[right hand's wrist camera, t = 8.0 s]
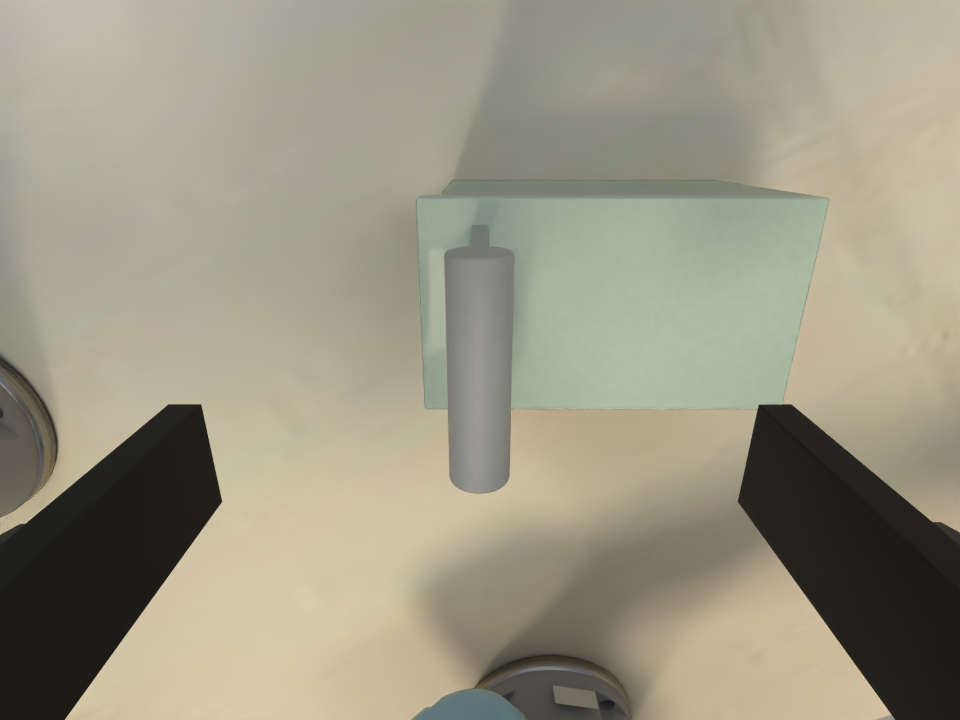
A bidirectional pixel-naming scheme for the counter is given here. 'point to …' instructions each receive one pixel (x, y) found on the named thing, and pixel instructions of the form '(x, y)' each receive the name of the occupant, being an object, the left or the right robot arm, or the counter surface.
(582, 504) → the counter surface
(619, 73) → the counter surface
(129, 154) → the counter surface
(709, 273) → the lid
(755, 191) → the chest
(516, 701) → the left robot arm
